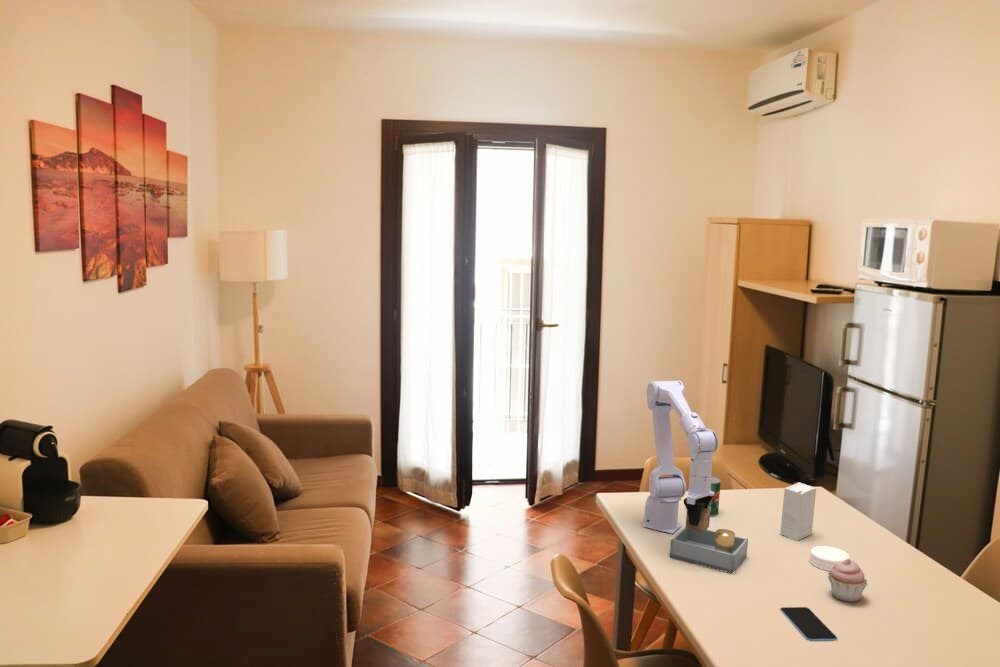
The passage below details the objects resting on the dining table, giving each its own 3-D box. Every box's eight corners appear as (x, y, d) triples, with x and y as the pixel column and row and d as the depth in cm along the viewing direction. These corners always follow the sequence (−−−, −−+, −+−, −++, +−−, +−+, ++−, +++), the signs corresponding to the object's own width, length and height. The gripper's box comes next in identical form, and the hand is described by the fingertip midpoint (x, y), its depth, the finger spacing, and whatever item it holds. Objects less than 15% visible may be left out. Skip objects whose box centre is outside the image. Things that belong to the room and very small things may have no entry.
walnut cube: (685, 528, 219) (686, 510, 219) (691, 522, 224) (692, 505, 223) (703, 532, 217) (704, 514, 216) (709, 526, 221) (710, 509, 220)
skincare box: (794, 528, 241) (798, 481, 239) (813, 535, 237) (817, 487, 235) (779, 535, 236) (783, 486, 234) (797, 541, 232) (802, 492, 229)
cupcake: (817, 591, 201) (820, 553, 199) (845, 585, 204) (849, 548, 203) (845, 608, 192) (849, 568, 191) (874, 602, 195) (879, 563, 194)
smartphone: (807, 606, 192) (839, 638, 177) (807, 609, 192) (839, 642, 177) (778, 606, 191) (807, 639, 176) (777, 610, 191) (807, 642, 176)
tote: (669, 557, 218) (671, 539, 217) (686, 541, 229) (687, 524, 228) (732, 573, 209) (734, 555, 208) (746, 556, 220) (747, 539, 219)
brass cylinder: (711, 558, 216) (713, 533, 215) (716, 551, 220) (718, 527, 219) (730, 562, 213) (732, 537, 212) (735, 555, 218) (736, 531, 216)
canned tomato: (689, 507, 256) (691, 474, 255) (712, 507, 257) (715, 474, 256) (697, 517, 248) (700, 483, 247) (722, 516, 249) (724, 482, 248)
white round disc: (854, 565, 217) (855, 553, 217) (840, 576, 210) (841, 563, 209) (818, 554, 224) (819, 542, 223) (803, 564, 217) (804, 552, 216)
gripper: (706, 484, 210) (703, 533, 212) (722, 470, 222) (719, 517, 224) (680, 479, 214) (677, 527, 215) (697, 465, 226) (694, 511, 228)
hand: (697, 522), depth 220 cm, fingers closed on walnut cube, 5 cm apart
